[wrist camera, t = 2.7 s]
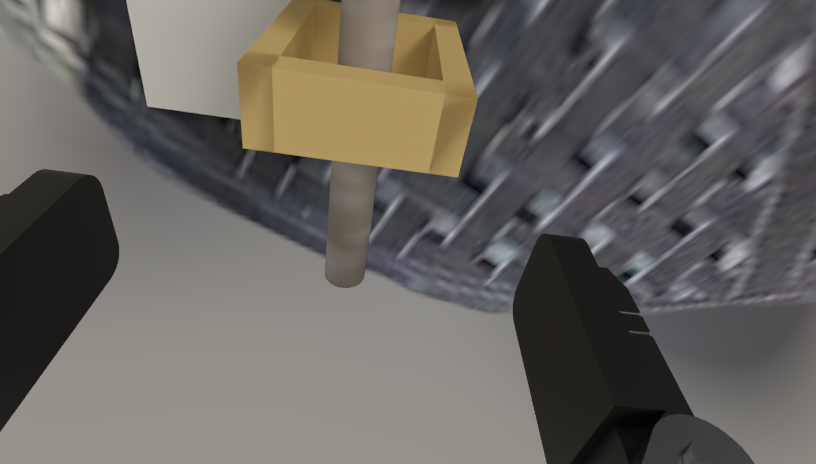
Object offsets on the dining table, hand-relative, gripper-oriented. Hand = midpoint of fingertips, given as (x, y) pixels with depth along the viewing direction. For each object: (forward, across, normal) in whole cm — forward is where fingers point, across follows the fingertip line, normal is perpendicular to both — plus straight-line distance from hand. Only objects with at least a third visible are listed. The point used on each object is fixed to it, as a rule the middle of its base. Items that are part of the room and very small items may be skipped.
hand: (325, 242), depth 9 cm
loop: (+13, 0, 0) cm, 13 cm away
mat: (+21, +9, +4) cm, 23 cm away
